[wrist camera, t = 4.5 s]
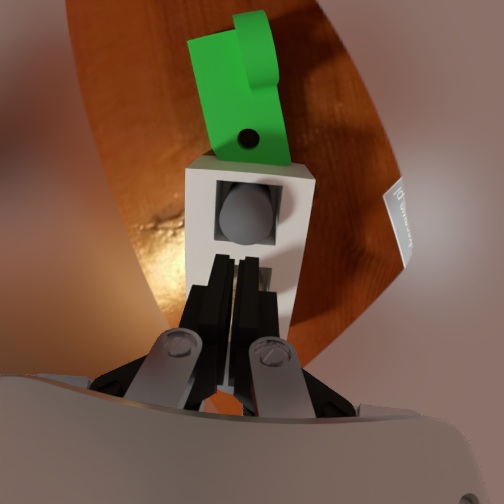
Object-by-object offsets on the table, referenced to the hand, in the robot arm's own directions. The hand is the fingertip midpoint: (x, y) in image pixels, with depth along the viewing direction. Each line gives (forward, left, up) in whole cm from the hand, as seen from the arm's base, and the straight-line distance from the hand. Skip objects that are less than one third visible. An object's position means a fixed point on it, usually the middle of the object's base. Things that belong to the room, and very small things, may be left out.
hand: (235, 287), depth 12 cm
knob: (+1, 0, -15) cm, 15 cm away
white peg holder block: (+7, 0, -17) cm, 18 cm away
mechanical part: (-7, -1, -17) cm, 18 cm away
